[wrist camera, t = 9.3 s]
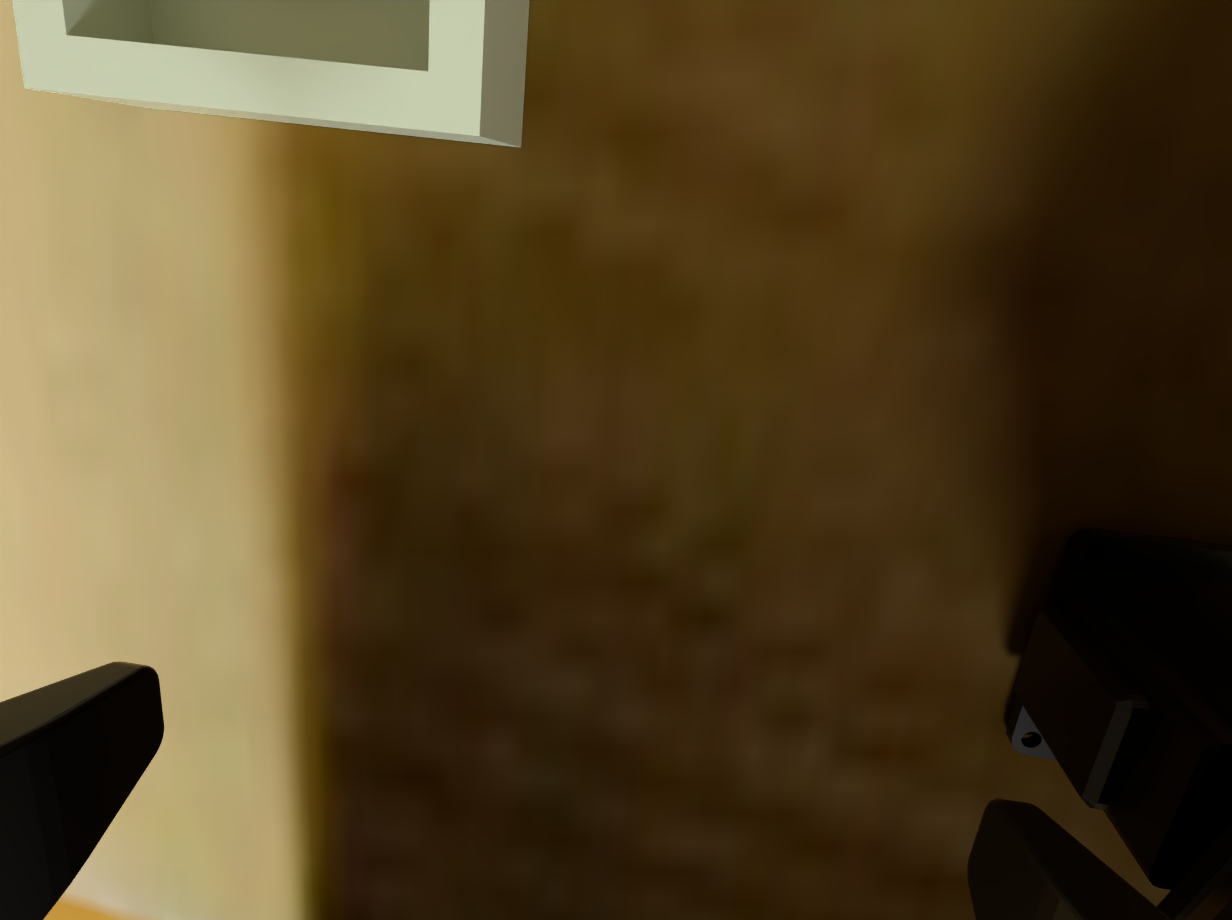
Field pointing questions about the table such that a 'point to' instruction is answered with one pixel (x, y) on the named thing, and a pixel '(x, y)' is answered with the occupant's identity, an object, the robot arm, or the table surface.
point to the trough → (292, 60)
